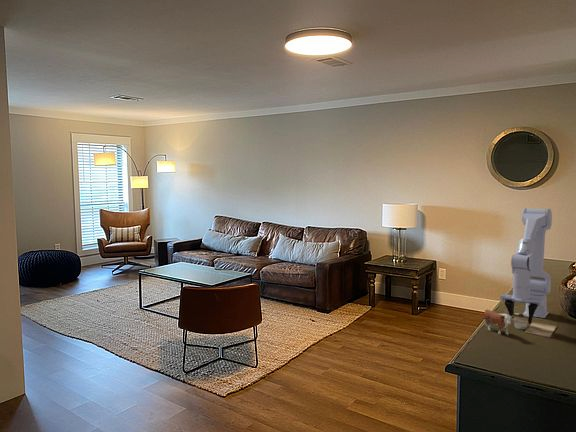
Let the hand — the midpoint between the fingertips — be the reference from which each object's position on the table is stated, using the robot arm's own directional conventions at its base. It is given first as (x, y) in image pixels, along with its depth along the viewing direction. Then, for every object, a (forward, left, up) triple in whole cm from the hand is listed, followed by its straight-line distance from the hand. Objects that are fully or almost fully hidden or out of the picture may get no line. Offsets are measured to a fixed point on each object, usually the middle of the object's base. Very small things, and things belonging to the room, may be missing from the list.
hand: (520, 321), depth 166 cm
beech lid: (0, 0, +1) cm, 1 cm away
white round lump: (0, 0, -2) cm, 2 cm away
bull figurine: (+11, -5, -3) cm, 12 cm away
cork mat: (-1, +7, -2) cm, 7 cm away
